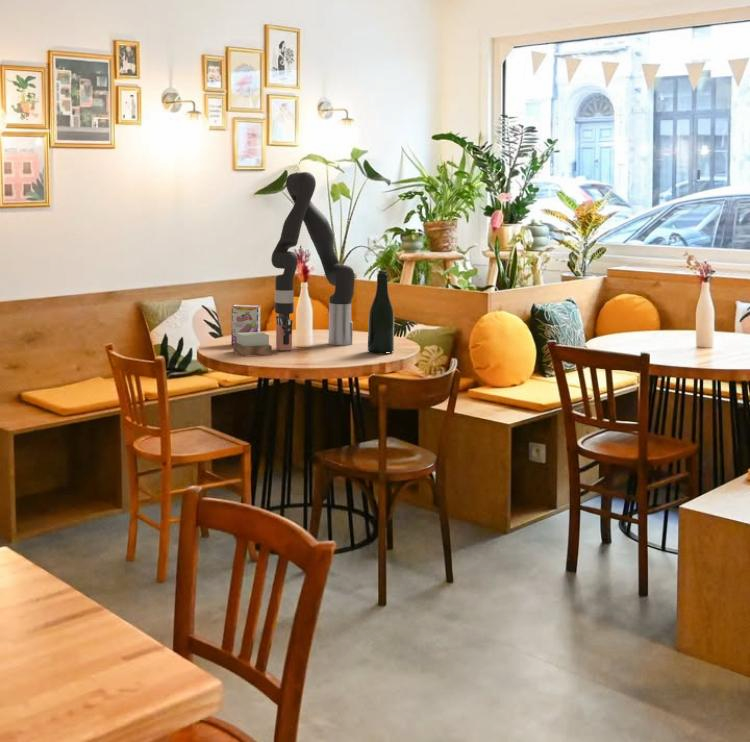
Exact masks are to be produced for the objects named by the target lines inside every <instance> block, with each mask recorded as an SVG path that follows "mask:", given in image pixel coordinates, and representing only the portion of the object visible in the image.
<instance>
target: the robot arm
mask: <svg viewBox="0 0 750 742" xmlns="http://www.w3.org/2000/svg"><path fill="white" fill-rule="evenodd" d="M316 184H317V182H316V178H315V175H314V174H312V173H310V172H308V171H304V172H294V173H290V174H289V175H288V176H287V177H286V180H285V186H286V190H287V193H288V195H289V196H290V198H291V200H292V201H293V203H294V205H293V206H292V208H291V210H290V212H289V213H288V215H287V217H286V218H285V220H284V222H283V225H282V230H281V234H280V238H279V241H278V242H277V244H276V246H275V247H274V250H273V251H272V255H271V265H272V266H273V268H275V269H279V270H280V269H281V270H282V269H283V272H282V274H278V275H277V276H275V286H274V287H275V288H274V289H275V291H274V313H275V314H278V316H277V315H276V316H275V322H276V323H275V325H276V324H281V325H282V329H283V344H284V345H288V344H289V335H290V334H291V333H292V334H293V319H291V317H290V314H291V315H292V314H293V313H294V310H295V309H294V308H295V307H294V304H295V303H294V299H295V298H294V296H295V295H294V279H295V275H296V271H297V267H298V263H299V261H298V260H299V259H298V256H297V254H296V253H295V252H293V251H290V250H289V249H291V248H293V247H296V246H297V245H298V242H299V237H300V234H301V229H302V225H303V224H304V226H305V227H306V230H307V233H308V235H309V238H310V240H311V242H312V244H313V246H314V247H315V250H316V253H317V255H318V257H319V259H320V262H321V266H322V268H323V271H324V274H325V277H326V280H327V282H328V283H329V284H330V285H331V286H334V287H335V288H334V293H333V294H332V295H330V296H329V299H328V300H329V301H328V303H329V306H328V307H329V308H328V313H329V314H328V344H329V345H332V346H333V345H334V346H349V345H353V334H354V333H353V330H354V329H353V328H354V327H353V326H354V324H353V321H352V301H353V300H352V299H353V297H354V294H355V292H354V291H355V281H356V280H355V279H356V278H355V276H356V275H355V272H354V269H353V268H352V267H351V266H349V265H346V264H341V263H340V261H339V259H338V257H337V255H336V252H335V247H334V246H335V245H334V244H335V238H334V237H335V236H334V232H333V230H332V227H331V224H330V223H329V221H328V218H327V217H326V216H325V214H323V213H322V212H321V211H320V209H319V208H318V207H316V206H315V204H314V203H313V202H312V198H313V195H314V193H315V190H316V186H317V185H316ZM283 325H285V327H284V326H283ZM287 329H288V331H287Z"/></svg>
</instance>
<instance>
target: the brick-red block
mask: <svg viewBox="0 0 750 742" xmlns="http://www.w3.org/2000/svg"><path fill="white" fill-rule="evenodd" d="M283 326H284V327H285V325H283ZM275 327H276V328H275V332H276V333H275V341H276V343H275V348H276V350H278V351H292V350H293V332H292V333H291V334H290V335H289V344H288V345H284V344H283V329H282V325H281V324H276V323H275ZM287 331H288V329H287Z"/></svg>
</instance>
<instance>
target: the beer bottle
mask: <svg viewBox="0 0 750 742" xmlns="http://www.w3.org/2000/svg"><path fill="white" fill-rule="evenodd" d="M377 272H378V273H377V274H376V291H375V295H374V298H373V301H372V303H371V306H370V309H369V312H368V313H369V315H368V325H367V326H368V328H367V332H368V333H367V352H368V351H369V352H368V353H370V352H372V353H371V354H374V353H386V352H392V351H393V352H394V350H395V349H394V347H395V345H394V344H395V313H394V308H393V307H394V306H393V305H392V302H391V299H390V296H389V287H388V285H389V283H388V282H389V281H388V280H389V274H388V271H387V270H383V269H382V270H378V271H377ZM393 352H392V353H393Z"/></svg>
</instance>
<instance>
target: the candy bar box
mask: <svg viewBox="0 0 750 742" xmlns="http://www.w3.org/2000/svg"><path fill="white" fill-rule="evenodd" d="M245 332H261V305H251V304H250V305H249V304H246V305H245V304H233V305H232V306H231V343H230V344H231V346H234V343H237V333H245Z"/></svg>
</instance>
